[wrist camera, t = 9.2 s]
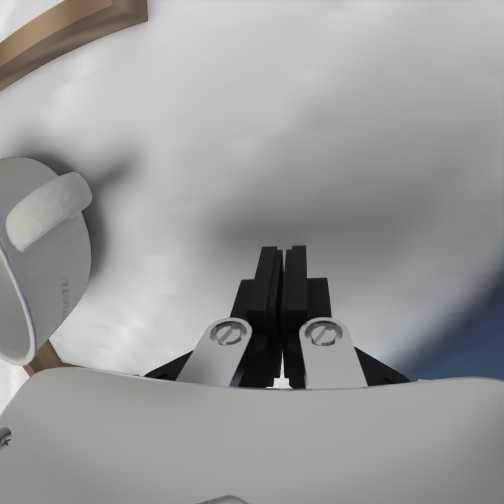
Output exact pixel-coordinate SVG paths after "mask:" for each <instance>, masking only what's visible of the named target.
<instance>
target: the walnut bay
mask: <svg viewBox="0 0 504 504" xmlns="http://www.w3.org/2000/svg"><path fill="white" fill-rule="evenodd" d="M145 21H148V18H147V4H146V0H65V1H63V2H61V3H59V4H58V5H56V6H54V7H53V8H51V9H49V10H48V11H46V12H44V13H43V14H41V15H39V16H38V17H36V18H35V19H33V20H32V21H30V22H29V23H27V24H26V25H24V26H23V27H21V28H20V29H19V30H17V31H16V32H14V33H13V34H12V35H10V36H9V37H8V38H6V39H5V40H4V41H2V42H1V43H0V91H1V90H3V89H4V88H6V87H7V86H9V85H10V84H12V83H13V82H15V81H16V80H18V79H20V78H21V77H23V76H25V75H26V74H28V73H30V72H31V71H33V70H35V69H37V68H38V67H40V66H42V65H44V64H46V63H47V62H49V61H51V60H53V59H55V58H57V57H59V56H61V55H63V54H65V53H67V52H69V51H71V50H73V49H75V48H78V47H80V46H82V45H84V44H86V43H89V42H91V41H93V40H96V39H98V38H101V37H103V36H106V35H108V34H111V33H113V32H116V31H119V30H121V29H124V28H127V27H130V26H133V25H136V24H139V23H142V22H145ZM58 367H79V366H74V365H69V364H65V363H62V362H61V360H60V359H59V357H58V356H57V354H56V352H55V351H54V349H53V347H52V345H51V344H50V342H49V340H47V341H46V342H45V343H44V344H43V345H42V346H41V347H40V348H39V349H38V351H37V353H36V356H35V357H34V359H33V360H32V361H31V362H30V363H29V364H28V365H25V366H23V368H24V369H25V371H26V372H27V373H28V375H29V376H30V377H31V376H33V375H34V374H36V373H37V372H40V371H43V370H46V369H51V368H58ZM80 368H83V367H80Z"/></svg>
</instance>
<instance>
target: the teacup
mask: <svg viewBox="0 0 504 504" xmlns="http://www.w3.org/2000/svg"><path fill="white" fill-rule="evenodd" d="M91 201H92V194H91V190H90V188H89V186H88V184H87V182H86V181H85V180H84V178H83V177H82V176H81V175H80V174H79V173H77V172H70V173H67V174H64V175H61V176H58V175H57V174H56V173H55V172H54V171H53V170H51V169H50V168H49V167H48V166H46V165H44V164H42V163H41V162H39V161H36V160H34V159H30V158H25V157H10V158H4V159H0V358H1V359H2V360H4V361H6V362H9V363H10V364H13V365H18V366H25V365H28V364H29V363H30V362H31V361H32V360H33V359H34V357H35V356H36V353H37V351H38V349H39V348H40V347H41V346H42V345H43V344H44V343H45V342H46V341H47V340H48V339H49V337H50V336H51V335H52V334H53V333H54V332H55V331H56V330H57V328H58V327H59V326H60V325H61V324H62V323H63V321H64V320H65V319H66V318H67V317H68V316H69V314H70V313H71V312H72V311H73V309H74V308H75V307H76V305H77V304H78V302H79V301H80V299H81V298H82V296H83V294H84V292H85V289H86V286H87V283H88V280H89V276H90V268H91V246H90V240H89V235H88V230H87V227H86V224H85V220H84V217H83V215H82V212H81V211H82V210H83V209H85V208H86V207H88V206H89V205H90V203H91Z"/></svg>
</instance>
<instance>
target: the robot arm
mask: <svg viewBox="0 0 504 504" xmlns="http://www.w3.org/2000/svg"><path fill="white" fill-rule="evenodd" d="M282 352H283V361H284V378H289V386H291V387H292V388H293V389H280V388H266V387H273V384H274V378H280V372H281V362H282ZM0 504H504V380H500V379H494V378H488V377H455V378H446V379H438V380H419V379H418V382H410V380H409V379H408V378H406V377H405V376H404V375H402V374H400V373H399V372H397V371H395V370H394V369H392V368H390V367H388V366H387V365H385V364H383V363H381V362H380V361H378V360H376V359H375V358H373V357H371V356H370V355H368V354H366V353H365V352H363V351H361V350H359V349H358V348H356V347H354V346H353V343H352V340H351V338H350V335H349V332H348V330H347V328H346V326H345V325H344V324H343V323H341V322H340V321H338V320H336V319H333V318H332V316H331V306H330V297H329V289H328V281H327V278H307V262H306V245H304V246H292V250H286V260H285V271H284V266H283V252H282V250H277V246H271V247H262V250H261V254H260V258H259V262H258V266H257V270H256V274H255V278H254V279H250V280H242V281H241V283H240V286H239V289H238V293H237V296H236V299H235V302H234V305H233V309H232V312H231V315H230V318H225V319H221V320H218V321H216V322H214V323H213V324H211V325H210V326H209V327H208V328H207V330H206V331H205V333H204V335H203V336H202V338H201V340H200V341H199V343H198V344H197V346H196V348H195V349H194V350H193V351H191V352H189V353H187V354H185V355H183V356H181V357H179V358H177V359H175V360H173V361H171V362H169V363H167V364H165V365H163V366H161V367H159V368H157V369H155V370H153V371H151V372H149V373H148V374H146V375H145V376H144V377H140V376H139V375H127V374H121V373H115V372H108V371H102V370H96V369H90V368H80V367H58V368H51V369H46V370H43V371H40V372H37V373H36V374H34V375H33V376H31V377H30V378H29V379H28V380H27V381H26V382H25V383H24V384H23V386H22V387H21V388H20V389H19V390H18V392H17V393H16V394H15V395H14V397H13V398H12V399H11V401H10V402H9V403H8V405H7V406H6V408H5V409H4V411H3V412H2V414H1V415H0Z"/></svg>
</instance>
